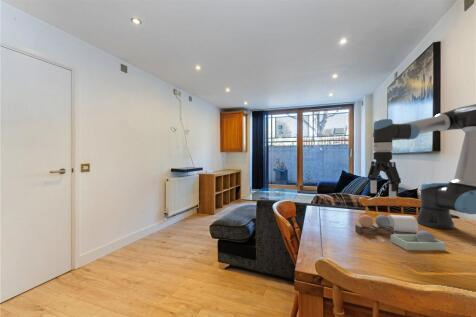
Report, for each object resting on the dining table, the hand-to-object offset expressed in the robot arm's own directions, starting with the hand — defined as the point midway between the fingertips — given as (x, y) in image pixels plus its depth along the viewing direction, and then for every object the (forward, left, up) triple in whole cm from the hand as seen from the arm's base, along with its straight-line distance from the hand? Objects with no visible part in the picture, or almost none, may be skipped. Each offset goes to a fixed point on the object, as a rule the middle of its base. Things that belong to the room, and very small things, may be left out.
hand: (382, 195), depth 102 cm
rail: (+4, 0, -18) cm, 19 cm away
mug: (-12, -5, -19) cm, 23 cm away
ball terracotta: (+8, 0, -15) cm, 17 cm away
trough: (-4, +15, -18) cm, 24 cm away
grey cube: (0, 0, -15) cm, 15 cm away
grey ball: (-8, +15, -18) cm, 25 cm away
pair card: (+8, +10, -18) cm, 22 cm away
